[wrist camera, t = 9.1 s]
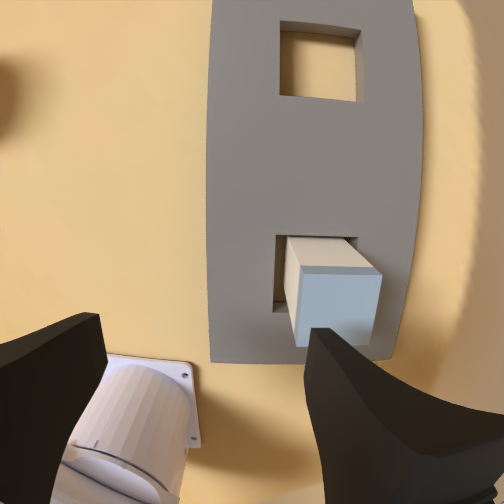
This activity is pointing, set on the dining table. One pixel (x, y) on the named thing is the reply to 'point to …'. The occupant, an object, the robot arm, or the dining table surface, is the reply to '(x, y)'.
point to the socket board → (307, 166)
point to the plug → (329, 288)
